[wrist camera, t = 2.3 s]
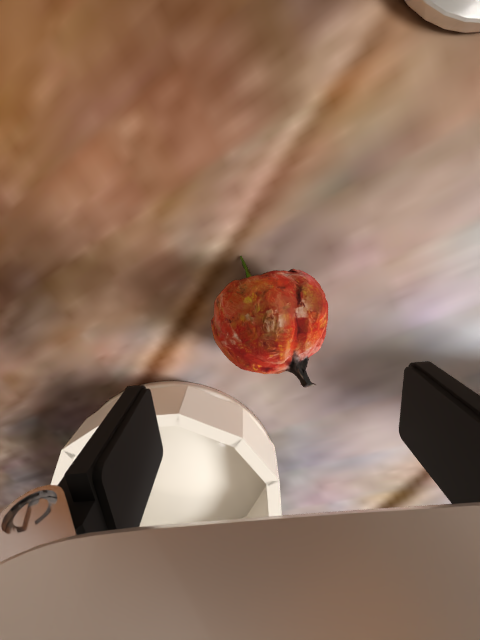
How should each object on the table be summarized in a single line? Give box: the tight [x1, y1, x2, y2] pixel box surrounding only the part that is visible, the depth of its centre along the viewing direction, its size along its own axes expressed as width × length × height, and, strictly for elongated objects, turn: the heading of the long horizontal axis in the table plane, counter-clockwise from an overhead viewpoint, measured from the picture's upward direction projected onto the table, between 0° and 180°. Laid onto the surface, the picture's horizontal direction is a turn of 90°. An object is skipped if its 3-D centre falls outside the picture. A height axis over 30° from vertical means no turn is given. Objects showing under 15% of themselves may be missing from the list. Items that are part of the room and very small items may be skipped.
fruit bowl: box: [51, 381, 282, 527], centre depth 24 cm, size 18×18×4 cm
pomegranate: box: [211, 256, 328, 387], centre depth 18 cm, size 7×7×10 cm
